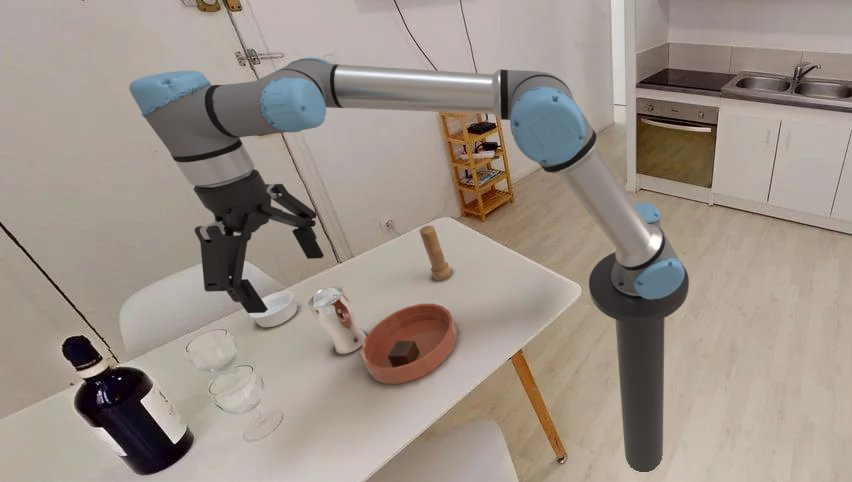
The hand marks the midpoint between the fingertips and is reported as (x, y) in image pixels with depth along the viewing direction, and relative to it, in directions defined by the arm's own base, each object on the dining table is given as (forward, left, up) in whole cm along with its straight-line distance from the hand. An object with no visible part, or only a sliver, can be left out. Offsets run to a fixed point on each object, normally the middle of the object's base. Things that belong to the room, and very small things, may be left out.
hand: (289, 282), depth 72 cm
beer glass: (+6, -11, -29) cm, 32 cm away
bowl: (-10, -9, -29) cm, 32 cm away
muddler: (-6, -34, -29) cm, 45 cm away
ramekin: (+30, -20, -29) cm, 47 cm away
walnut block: (-10, -5, -28) cm, 31 cm away
